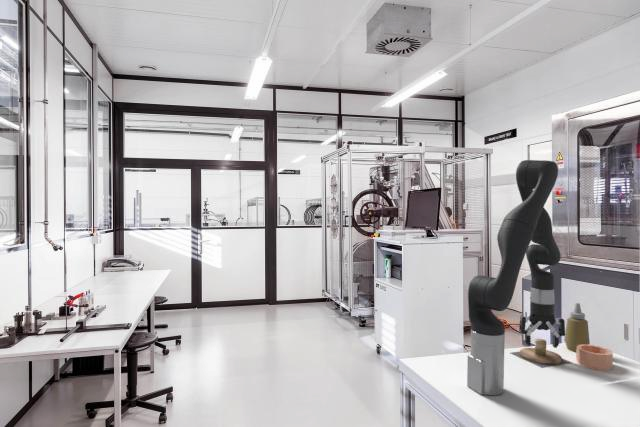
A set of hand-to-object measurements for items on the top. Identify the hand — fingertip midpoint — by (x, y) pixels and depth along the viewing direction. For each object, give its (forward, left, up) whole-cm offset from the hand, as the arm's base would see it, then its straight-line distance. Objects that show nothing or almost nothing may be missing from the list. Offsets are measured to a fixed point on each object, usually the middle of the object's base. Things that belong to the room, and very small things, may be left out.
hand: (541, 346), depth 143 cm
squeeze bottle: (+20, +2, -5) cm, 20 cm away
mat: (0, 0, -5) cm, 5 cm away
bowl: (+13, -10, -5) cm, 17 cm away
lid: (0, 0, -4) cm, 4 cm away
